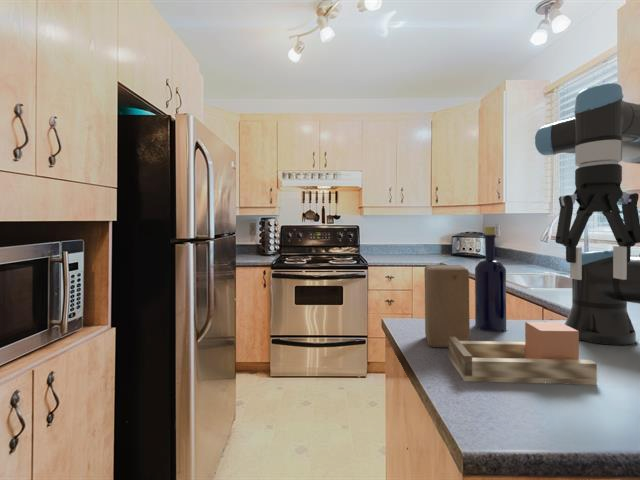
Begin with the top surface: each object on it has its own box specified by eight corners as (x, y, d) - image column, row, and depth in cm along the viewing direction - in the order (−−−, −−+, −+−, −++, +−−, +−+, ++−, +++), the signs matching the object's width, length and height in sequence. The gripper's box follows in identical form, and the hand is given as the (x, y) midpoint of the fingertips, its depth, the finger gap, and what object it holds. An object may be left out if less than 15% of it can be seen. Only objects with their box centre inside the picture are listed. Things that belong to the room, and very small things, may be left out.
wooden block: (470, 349, 90) (469, 268, 89) (428, 347, 92) (427, 268, 91) (463, 337, 100) (462, 264, 99) (425, 336, 102) (424, 264, 101)
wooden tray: (559, 359, 82) (559, 337, 82) (596, 384, 69) (596, 358, 69) (448, 357, 85) (448, 336, 84) (464, 381, 72) (464, 356, 72)
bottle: (514, 331, 104) (513, 226, 103) (481, 332, 104) (480, 227, 103) (498, 323, 113) (498, 226, 112) (468, 323, 114) (467, 227, 113)
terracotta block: (559, 358, 79) (559, 322, 79) (578, 371, 72) (578, 331, 72) (525, 358, 80) (525, 321, 80) (540, 370, 73) (540, 330, 73)
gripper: (639, 166, 76) (638, 276, 77) (535, 170, 79) (535, 276, 79) (669, 160, 69) (668, 281, 69) (553, 164, 71) (553, 281, 72)
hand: (597, 278), depth 74 cm, fingers open, 8 cm apart
